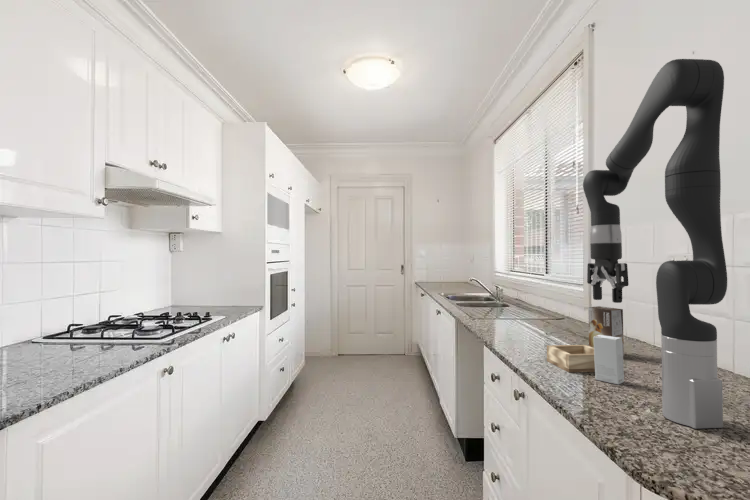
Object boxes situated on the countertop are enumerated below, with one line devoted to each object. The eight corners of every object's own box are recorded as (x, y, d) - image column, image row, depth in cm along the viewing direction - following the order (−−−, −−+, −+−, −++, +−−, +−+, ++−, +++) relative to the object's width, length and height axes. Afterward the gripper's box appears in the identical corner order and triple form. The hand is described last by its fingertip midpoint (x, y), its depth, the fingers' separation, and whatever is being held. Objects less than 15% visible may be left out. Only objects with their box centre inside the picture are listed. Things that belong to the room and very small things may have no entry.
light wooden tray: (611, 371, 119) (611, 354, 119) (568, 372, 118) (568, 355, 118) (585, 359, 132) (585, 344, 132) (546, 360, 131) (546, 345, 131)
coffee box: (625, 356, 137) (624, 308, 137) (612, 358, 134) (612, 310, 134) (600, 350, 145) (599, 305, 145) (587, 352, 142) (587, 306, 142)
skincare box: (624, 382, 109) (624, 337, 109) (618, 385, 106) (617, 339, 107) (600, 376, 114) (599, 333, 114) (593, 380, 111) (593, 336, 111)
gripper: (637, 240, 104) (638, 303, 104) (602, 243, 119) (604, 298, 118) (609, 240, 104) (610, 303, 103) (578, 243, 118) (579, 299, 118)
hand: (607, 301), depth 111 cm, fingers open, 8 cm apart
